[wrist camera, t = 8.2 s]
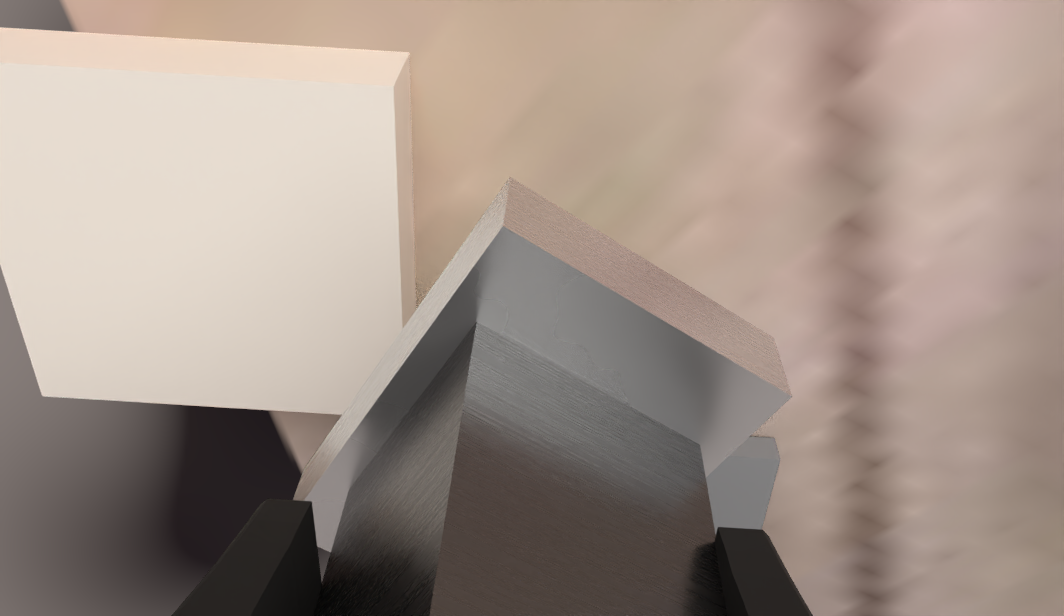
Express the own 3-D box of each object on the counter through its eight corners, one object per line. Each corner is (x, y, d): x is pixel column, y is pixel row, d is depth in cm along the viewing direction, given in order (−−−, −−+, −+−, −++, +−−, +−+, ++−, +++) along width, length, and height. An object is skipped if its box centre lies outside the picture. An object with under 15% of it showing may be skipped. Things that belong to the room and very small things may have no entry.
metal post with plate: (773, 337, 15) (941, 868, 8) (534, 577, 18) (510, 1092, 11) (509, 177, 13) (442, 655, 7) (304, 468, 17) (120, 982, 10)
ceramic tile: (393, 86, 17) (-66, 58, 17) (406, 418, 21) (42, 395, 21) (412, 47, 19) (0, 22, 19) (419, 359, 23) (86, 339, 23)
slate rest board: (774, 438, 24) (780, 459, 23) (713, 674, 29) (716, 697, 28) (350, 410, 24) (343, 431, 23) (369, 651, 29) (364, 674, 28)
